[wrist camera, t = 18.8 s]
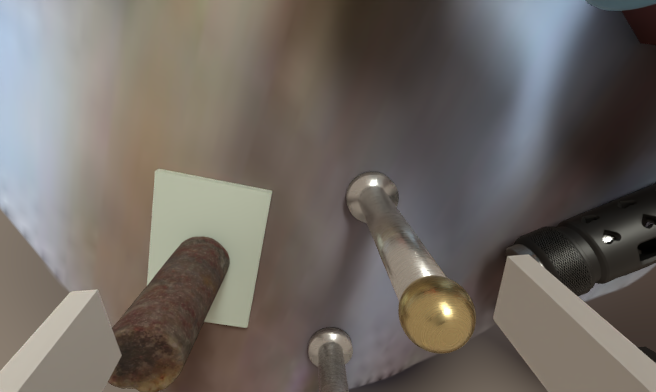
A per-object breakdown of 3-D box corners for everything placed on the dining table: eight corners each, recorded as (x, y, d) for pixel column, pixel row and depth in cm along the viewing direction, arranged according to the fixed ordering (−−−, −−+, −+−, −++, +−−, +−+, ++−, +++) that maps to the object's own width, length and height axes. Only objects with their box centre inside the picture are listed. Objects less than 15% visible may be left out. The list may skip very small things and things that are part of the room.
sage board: (148, 308, 51) (145, 313, 50) (159, 168, 44) (155, 170, 43) (248, 322, 53) (247, 328, 52) (272, 190, 46) (271, 193, 45)
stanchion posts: (304, 359, 56) (300, 611, 29) (352, 167, 46) (412, 280, 19) (345, 364, 56) (378, 615, 30) (401, 177, 47) (524, 300, 20)
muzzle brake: (686, 208, 51) (777, 238, 41) (508, 280, 53) (553, 324, 43) (681, 151, 48) (777, 168, 38) (492, 229, 50) (537, 264, 40)
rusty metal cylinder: (197, 220, 46) (119, 317, 27) (242, 250, 48) (199, 361, 29) (167, 260, 47) (73, 378, 28) (212, 288, 49) (151, 416, 30)
